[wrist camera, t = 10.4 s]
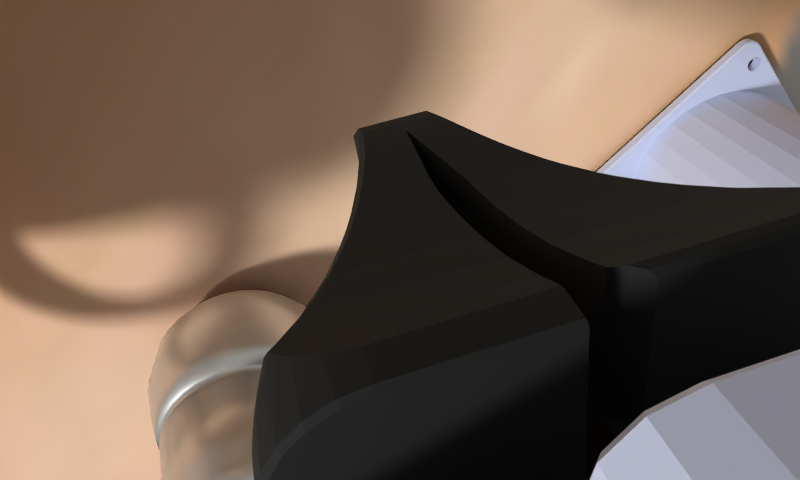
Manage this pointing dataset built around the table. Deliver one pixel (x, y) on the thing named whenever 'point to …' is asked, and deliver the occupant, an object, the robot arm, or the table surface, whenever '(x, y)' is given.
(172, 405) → the plastic bottle
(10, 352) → the table surface
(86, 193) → the table surface
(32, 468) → the table surface
